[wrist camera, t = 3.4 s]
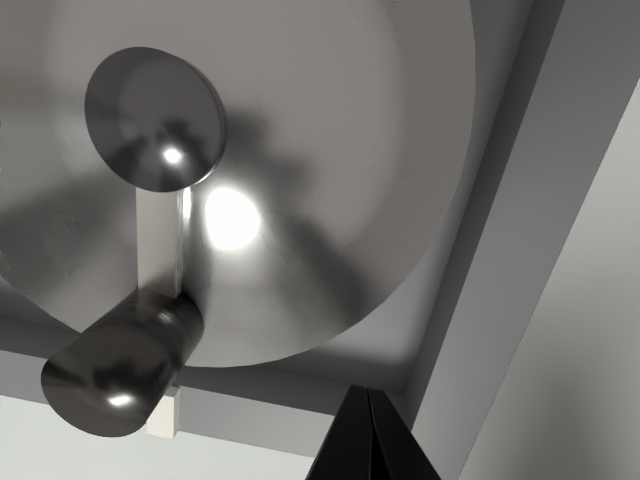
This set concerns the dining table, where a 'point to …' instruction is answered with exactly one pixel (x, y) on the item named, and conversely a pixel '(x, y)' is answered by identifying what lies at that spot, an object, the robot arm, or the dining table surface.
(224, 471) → the dining table surface
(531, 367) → the dining table surface
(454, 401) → the grey square tray
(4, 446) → the dining table surface
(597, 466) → the dining table surface
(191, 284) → the dial
